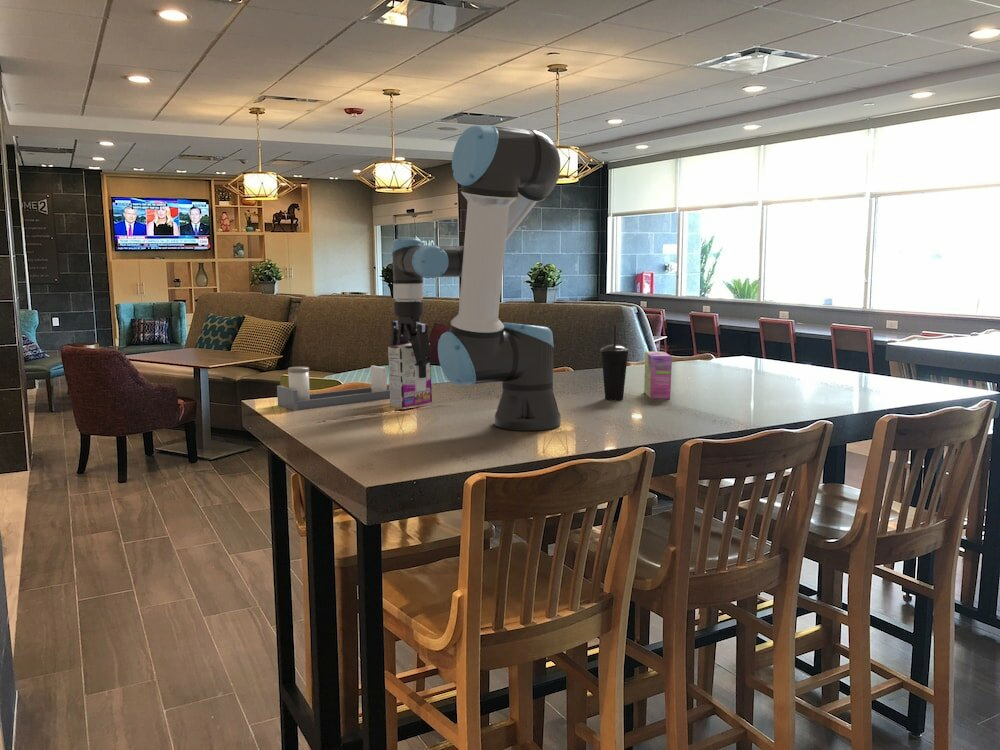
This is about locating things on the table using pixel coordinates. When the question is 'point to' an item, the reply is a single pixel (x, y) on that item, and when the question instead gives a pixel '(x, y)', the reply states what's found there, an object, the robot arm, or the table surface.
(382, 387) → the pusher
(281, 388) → the lane
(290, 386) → the jar
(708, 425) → the table surface
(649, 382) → the box
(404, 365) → the candy bar box
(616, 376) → the drinking cup
